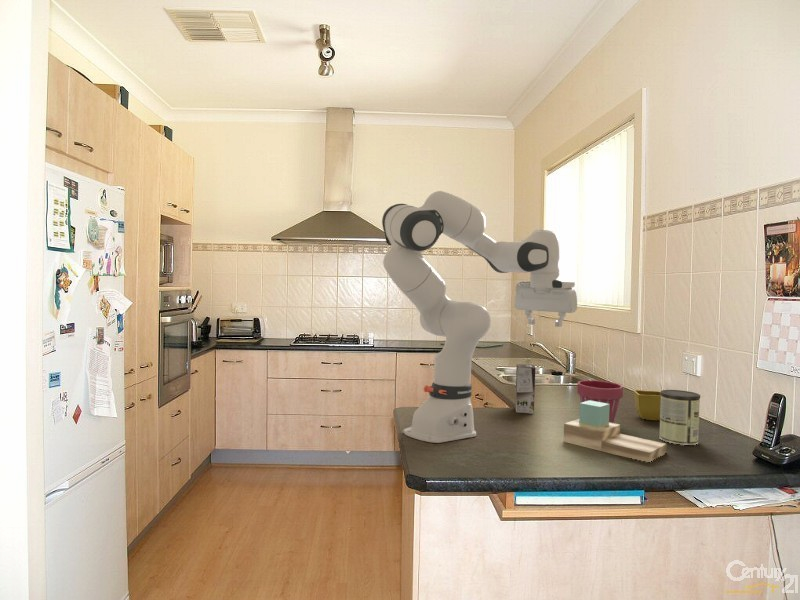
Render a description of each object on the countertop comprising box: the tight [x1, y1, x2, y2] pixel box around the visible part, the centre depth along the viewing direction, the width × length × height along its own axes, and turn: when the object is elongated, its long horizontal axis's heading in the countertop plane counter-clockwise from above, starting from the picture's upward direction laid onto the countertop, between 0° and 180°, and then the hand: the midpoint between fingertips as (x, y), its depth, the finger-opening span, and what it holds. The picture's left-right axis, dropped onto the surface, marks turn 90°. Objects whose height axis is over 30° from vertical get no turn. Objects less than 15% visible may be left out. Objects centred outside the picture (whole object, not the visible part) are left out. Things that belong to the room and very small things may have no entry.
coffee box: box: [515, 363, 536, 415], centre depth 185 cm, size 9×6×16 cm
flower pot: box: [633, 389, 661, 421], centre depth 178 cm, size 9×9×9 cm
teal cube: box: [578, 400, 610, 428], centre depth 147 cm, size 6×6×6 cm
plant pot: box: [576, 379, 624, 423], centre depth 171 cm, size 14×14×13 cm
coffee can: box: [658, 389, 701, 446], centre depth 152 cm, size 10×10×14 cm
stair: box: [563, 418, 668, 463], centre depth 143 cm, size 12×24×5 cm, turn 44°
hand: (544, 325), depth 164 cm, fingers open, 8 cm apart
